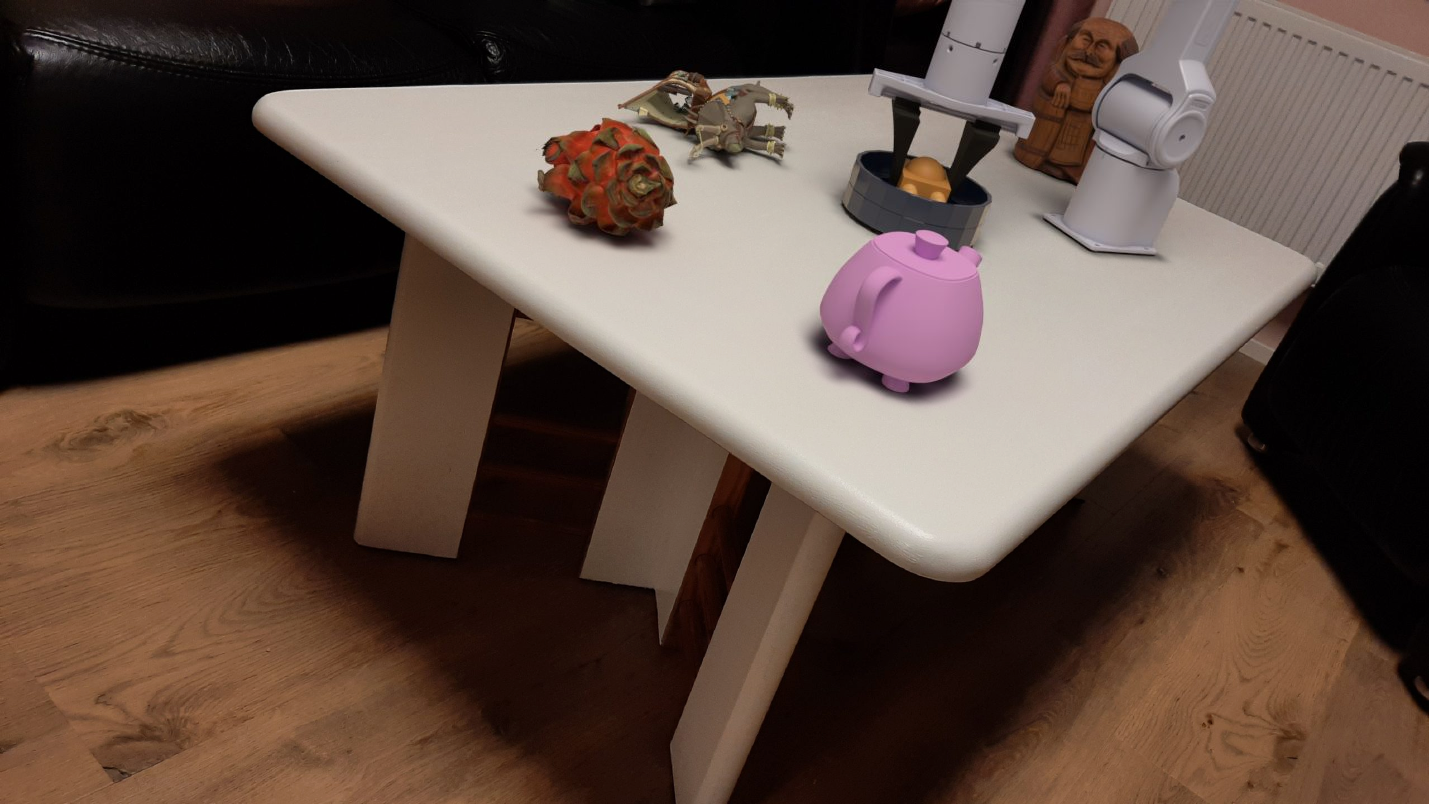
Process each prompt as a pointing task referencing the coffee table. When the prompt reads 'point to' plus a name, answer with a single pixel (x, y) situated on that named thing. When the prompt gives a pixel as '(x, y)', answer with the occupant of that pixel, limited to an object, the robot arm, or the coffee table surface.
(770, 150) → the figurine
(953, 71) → the robot arm
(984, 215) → the bowl
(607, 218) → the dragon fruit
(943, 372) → the teapot
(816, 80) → the coffee table surface
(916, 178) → the orange toy brick
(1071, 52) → the wooden figurine
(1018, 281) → the coffee table surface
